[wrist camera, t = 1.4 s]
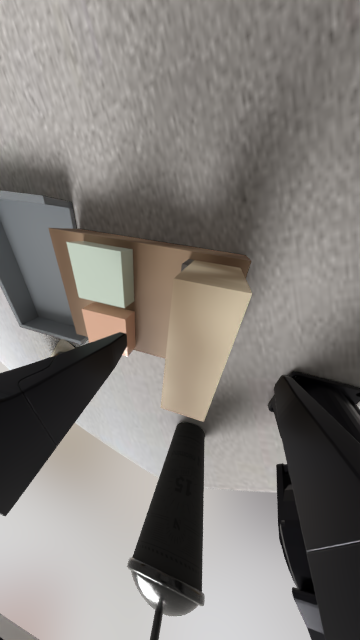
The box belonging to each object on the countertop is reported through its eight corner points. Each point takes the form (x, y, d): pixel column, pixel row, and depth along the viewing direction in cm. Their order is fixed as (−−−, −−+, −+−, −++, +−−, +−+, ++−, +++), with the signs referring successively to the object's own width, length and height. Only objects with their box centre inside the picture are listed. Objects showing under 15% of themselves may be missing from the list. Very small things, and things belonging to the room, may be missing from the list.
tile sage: (132, 249, 11) (120, 251, 10) (134, 300, 13) (124, 308, 12) (83, 241, 12) (66, 241, 10) (92, 291, 14) (78, 297, 12)
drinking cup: (213, 448, 27) (193, 804, 10) (171, 437, 29) (96, 722, 12) (213, 423, 24) (186, 904, 7) (166, 413, 26) (51, 766, 9)
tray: (71, 201, 13) (42, 195, 11) (96, 333, 21) (81, 344, 18) (-10, 191, 15) (-49, 184, 13) (39, 317, 22) (20, 327, 20)
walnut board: (245, 255, 12) (251, 261, 10) (215, 351, 17) (213, 372, 15) (79, 228, 14) (48, 227, 12) (95, 320, 19) (76, 333, 17)
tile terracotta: (134, 311, 14) (125, 319, 12) (135, 346, 16) (127, 356, 14) (94, 301, 14) (81, 308, 13) (100, 336, 16) (89, 345, 15)
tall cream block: (240, 268, 10) (252, 293, 6) (209, 366, 14) (203, 421, 10) (188, 259, 10) (164, 276, 6) (174, 357, 15) (155, 406, 11)
